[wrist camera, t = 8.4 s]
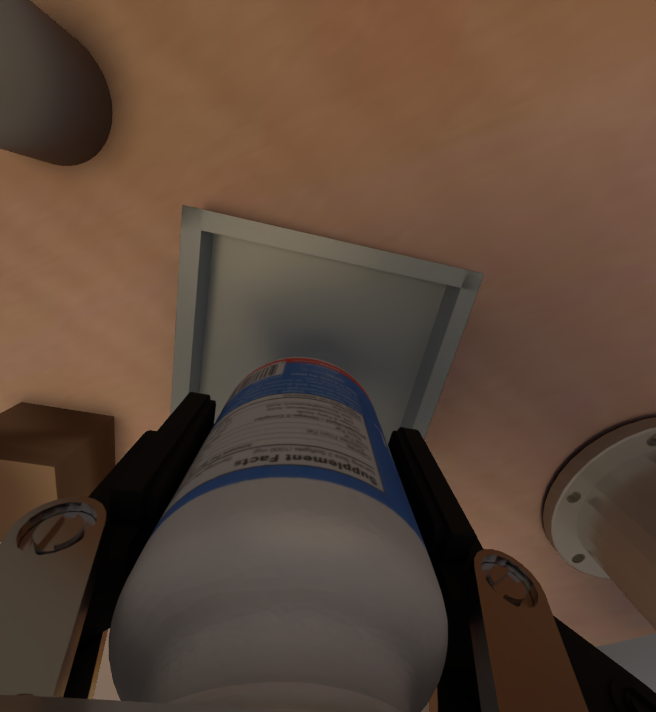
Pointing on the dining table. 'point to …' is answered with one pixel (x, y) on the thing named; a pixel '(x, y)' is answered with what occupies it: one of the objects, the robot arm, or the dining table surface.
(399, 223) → the dining table surface
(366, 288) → the slate tray
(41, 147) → the smooth grey pebble
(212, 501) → the pill bottle
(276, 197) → the dining table surface
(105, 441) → the walnut block
